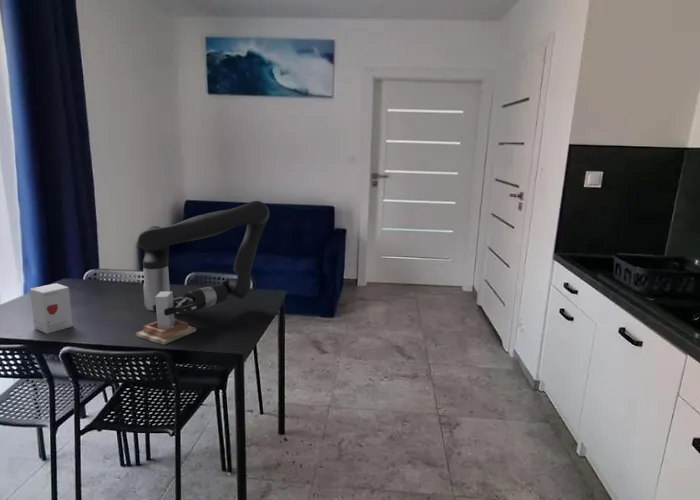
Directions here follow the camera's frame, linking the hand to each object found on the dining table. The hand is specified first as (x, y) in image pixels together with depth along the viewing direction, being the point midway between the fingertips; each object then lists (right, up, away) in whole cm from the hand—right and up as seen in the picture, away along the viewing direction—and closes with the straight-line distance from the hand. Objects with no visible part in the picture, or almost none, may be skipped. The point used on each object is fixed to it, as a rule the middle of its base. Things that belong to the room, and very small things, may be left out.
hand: (159, 310), depth 156 cm
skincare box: (+1, -6, +3) cm, 7 cm away
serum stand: (+1, -9, +4) cm, 10 cm away
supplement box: (-40, -7, +7) cm, 42 cm away
